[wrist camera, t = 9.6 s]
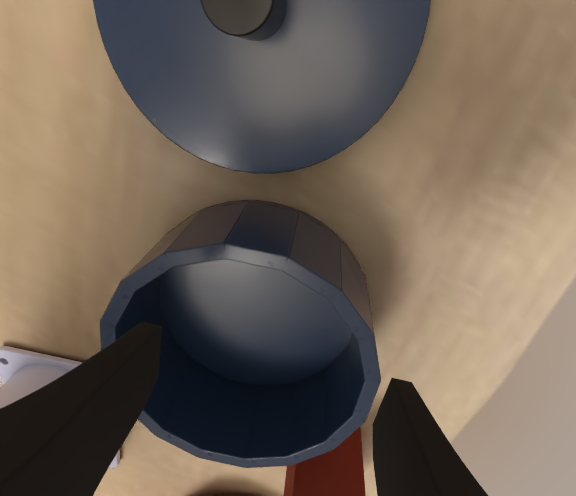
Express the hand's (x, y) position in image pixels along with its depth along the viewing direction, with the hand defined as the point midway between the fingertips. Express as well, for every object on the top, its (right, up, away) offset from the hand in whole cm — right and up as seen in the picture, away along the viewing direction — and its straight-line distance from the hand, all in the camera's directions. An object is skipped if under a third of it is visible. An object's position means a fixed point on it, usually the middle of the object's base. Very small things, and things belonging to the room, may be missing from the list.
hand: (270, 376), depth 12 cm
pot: (-1, +1, +10) cm, 10 cm away
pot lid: (-1, +14, +4) cm, 14 cm away
